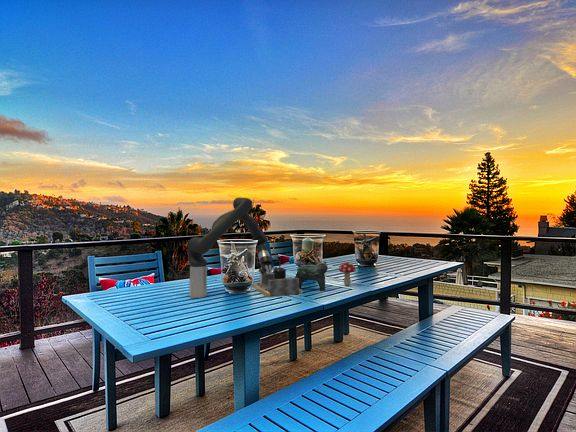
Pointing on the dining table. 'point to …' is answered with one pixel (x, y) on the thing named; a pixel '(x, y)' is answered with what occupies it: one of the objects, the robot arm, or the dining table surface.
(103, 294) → the dining table surface
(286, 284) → the vise frame
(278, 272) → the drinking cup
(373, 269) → the dining table surface
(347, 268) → the decorative mushroom
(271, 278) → the sliding jaw
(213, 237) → the robot arm
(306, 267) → the dark green legged piece
